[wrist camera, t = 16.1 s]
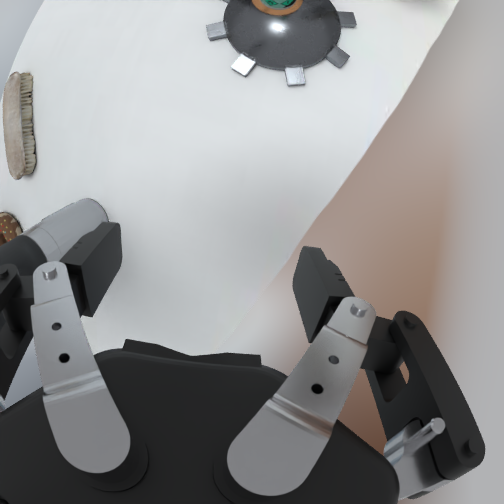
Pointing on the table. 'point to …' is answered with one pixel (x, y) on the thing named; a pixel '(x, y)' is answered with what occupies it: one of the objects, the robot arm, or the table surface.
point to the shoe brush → (18, 125)
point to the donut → (8, 228)
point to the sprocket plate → (283, 35)
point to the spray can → (278, 4)
